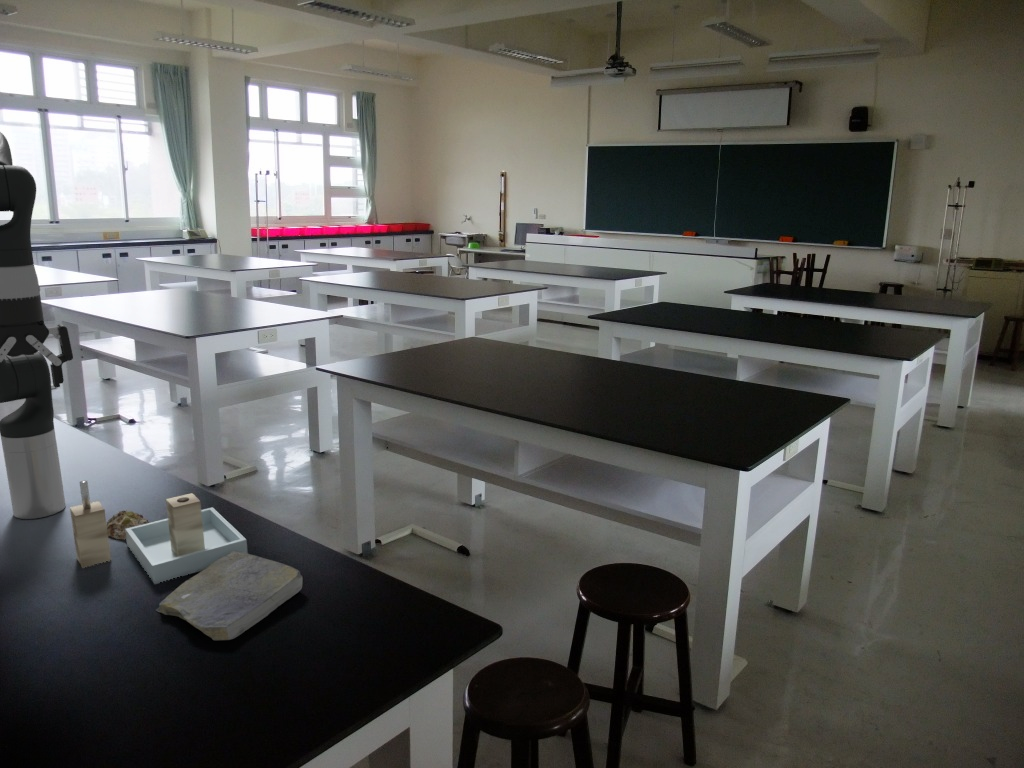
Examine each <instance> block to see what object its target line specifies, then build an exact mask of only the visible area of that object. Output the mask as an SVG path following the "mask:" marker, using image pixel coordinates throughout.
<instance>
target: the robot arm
mask: <svg viewBox="0 0 1024 768" xmlns="http://www.w3.org/2000/svg"><path fill="white" fill-rule="evenodd" d="M11 151H12V150H11V148H10V144H9V141H8V139H7V137H6V136H5V135H4V134H3V132H2V131H0V212H12V214H13V215H12V217H11V218H10V220H9V221H8V222H7V223H4V224H0V404H3V403H8V402H14V401H19V400H24V399H25V401H24V402H23V403H22V404H21V406H19V407H18V408H16V410H14V411H12V412H10V413H9V414H7V415H6V416H4V417H2V418H1V419H0V441H1V446H2V447H1V448H2V452H3V458H4V464H5V465H4V466H5V470H6V476H7V482H8V488H9V489H8V490H9V495H10V502H11V503H10V504H11V507H12V515H13V517H15V518H17V519H22V520H32V519H41V518H45V517H49V516H52V515H55V514H57V513H59V512H61V511H63V510H64V509H65V507H66V499H65V491H64V484H63V478H62V470H61V465H60V458H59V456H60V455H59V452H58V451H59V450H58V445H57V438H56V432H55V431H56V430H55V423H54V417H55V413H54V411H55V410H54V404H53V393H52V392H53V390H52V385H53V387H54V388H55V389H56V388H60V387H61V384H63V383H64V373H63V367H62V366H63V364H64V363H66V362H68V361H69V362H70V361H72V360H74V355H73V349H72V344H71V341H70V335H69V331H68V328H67V326H65V325H64V324H62V323H60V324H57V325H56V326H49V327H47V326H46V323H45V320H44V319H45V318H44V313H43V306H42V299H41V293H40V292H41V286H40V285H39V278H38V274H37V272H36V268H35V267H36V266H35V263H34V256H33V250H32V240H31V228H32V227H31V226H32V218H33V212H34V206H35V202H36V197H37V184H36V180H35V178H34V177H33V175H32V174H31V173H30V171H29V170H28V169H26V168H25V167H24V166H20V165H13V157H12V152H11ZM49 335H52V336H53V337H54V339H56V340H58V341H59V346H60V351H61V353H60V354H58V355H56V354H55V353H53V351H51V350H50V349H49V348H48V347H47V346H45V345H44V343H45V342H46V341H47V338H48V337H49ZM47 360H48V361H49V362H51V364H50V367H49V364H48V362H47Z"/></svg>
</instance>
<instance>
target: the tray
mask: <svg viewBox="0 0 1024 768" xmlns="http://www.w3.org/2000/svg"><path fill="white" fill-rule="evenodd" d="M201 513H202V524H203V534H204V544H205V549H203V550H200V551H196V552H193V553H189V554H185V555H182V556H178V557H177V556H176V555H175V553H174V552H173V551H172V550H171V541H170V532H169V523H168V517H167V518H163V519H159V520H156V521H152V522H149V523H147V524H143V525H139V526H135V527H131V528H127V529H125V531H126V539H127V540H126V545H128V546H127V547H129V548H130V549H129V548H128V549H129V550H130V552H131V551H132V552H131V554H132V555H133V554H134V555H135V556H134V555H133V556H134V557H135V559H136V558H137V559H136V560H137V562H138V561H139V562H140V563H139V562H138V563H139V565H142V566H141V567H142V569H143V568H144V569H143V570H144V572H145V571H146V572H147V573H146V572H145V573H146V575H147V576H148V575H149V576H148V577H149V579H150V578H151V579H150V580H151V581H152V583H153V585H158V584H160V582H162V583H164V582H163V581H165V582H167V581H166V580H168V581H170V579H172V580H174V579H173V578H175V579H178V578H177V577H179V578H181V577H180V576H182V577H185V576H188V574H189V575H191V574H196V573H200V572H201V571H203V570H204V569H206V568H207V567H208V566H209V565H211V564H212V563H213V562H215V561H216V560H218V559H220V558H222V557H224V556H227V555H229V554H230V553H232V552H233V551H238V552H243V553H248V544H247V543H248V542H247V541H248V540H247V539H246V538H245V536H243V535H242V534H241V532H239V531H238V530H237V529H236V528H235V527H234V526H233V525H232V524H231V523H230V522H229V521H227V519H225V518H224V516H222V515H221V514H220V513H219V512H218V511H217V510H216V509H215V508H214V507H208V508H204V509H201Z"/></svg>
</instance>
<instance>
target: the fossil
mask: <svg viewBox="0 0 1024 768" xmlns="http://www.w3.org/2000/svg"><path fill="white" fill-rule="evenodd" d="M303 577H304V576H303V575H301V571H300V570H299V569H297V568H295V567H293V566H291V565H287V564H285V563H281V562H280V561H276V560H272V559H269V558H265V557H261V556H258V555H254V554H250V553H249V552H247V553H243V552H238V551H233V552H232V553H230V554H229V555H227V556H224V557H222V558H220V559H218V560H216V561H215V562H213V563H212V564H211V565H209V566H208V567H207V568H206V569H204V570H202V571H199V572H197V574H195V575H193V576H192V577H189V578H188V579H187V580H184V582H182V583H181V584H179V586H178V587H177V588H175V589H174V590H173V591H171V593H169V594H168V595H167V596H166V597H165V598H164V599H163V600H161V602H159V604H158V605H159V607H157V608H156V609H155V611H156V612H158V613H161V614H163V615H165V616H173V617H174V616H175V617H179V619H182V620H184V621H186V622H187V623H189V624H190V625H191V626H193V627H194V628H195V629H198V630H199V631H201V632H202V633H203V635H206V636H207V637H209V638H211V639H212V641H231V640H233V639H236V638H237V637H239V636H240V635H242V634H243V633H245V631H247V630H249V629H250V628H251V627H253V626H255V625H256V624H257V623H260V621H262V620H263V619H264V618H266V617H268V616H269V615H270V614H271V613H272V612H274V611H275V610H277V608H278V607H280V606H281V605H282V604H284V603H285V602H287V601H288V600H290V599H291V598H292V597H294V596H295V595H296V594H298V593H299V592H300V591H302V589H303V580H304V579H303Z"/></svg>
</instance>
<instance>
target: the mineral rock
mask: <svg viewBox="0 0 1024 768" xmlns="http://www.w3.org/2000/svg"><path fill="white" fill-rule="evenodd" d="M147 523H150V522H149V519H146V518H144V516H143V514H139V513H137V512H134V511H132V510H129V511H128V510H119V512H118V513H116V514H113V516H111V517H110V518H109V520H108V521H106V524H107V532H108V537H110V538H113V537H114V539H115V540H117V539H120V540H125V539H126V531H125V529H127V528H131V527H135V526H139V525H143V524H147ZM125 541H127V539H126V540H125Z"/></svg>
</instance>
